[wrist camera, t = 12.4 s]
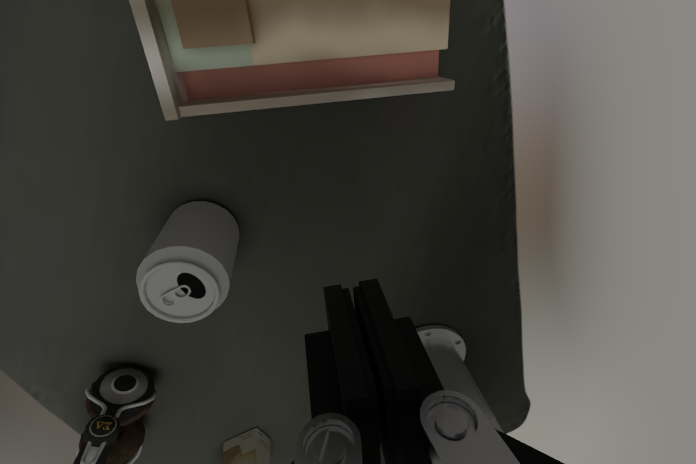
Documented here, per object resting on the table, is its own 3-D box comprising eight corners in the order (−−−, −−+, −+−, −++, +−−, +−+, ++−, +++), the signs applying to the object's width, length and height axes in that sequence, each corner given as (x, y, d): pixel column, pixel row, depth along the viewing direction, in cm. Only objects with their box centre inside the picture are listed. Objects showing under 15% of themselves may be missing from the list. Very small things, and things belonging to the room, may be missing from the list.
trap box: (435, 84, 37) (458, 91, 32) (181, 109, 34) (165, 120, 29) (443, -105, 30) (475, -132, 25) (125, -94, 27) (92, -122, 22)
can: (253, 240, 42) (244, 307, 31) (196, 268, 42) (169, 343, 32) (214, 185, 38) (190, 241, 28) (153, 217, 39) (106, 283, 28)
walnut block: (255, 43, 31) (252, 43, 27) (194, 47, 30) (183, 49, 26) (243, -30, 28) (238, -40, 25) (176, -26, 28) (161, -36, 24)
